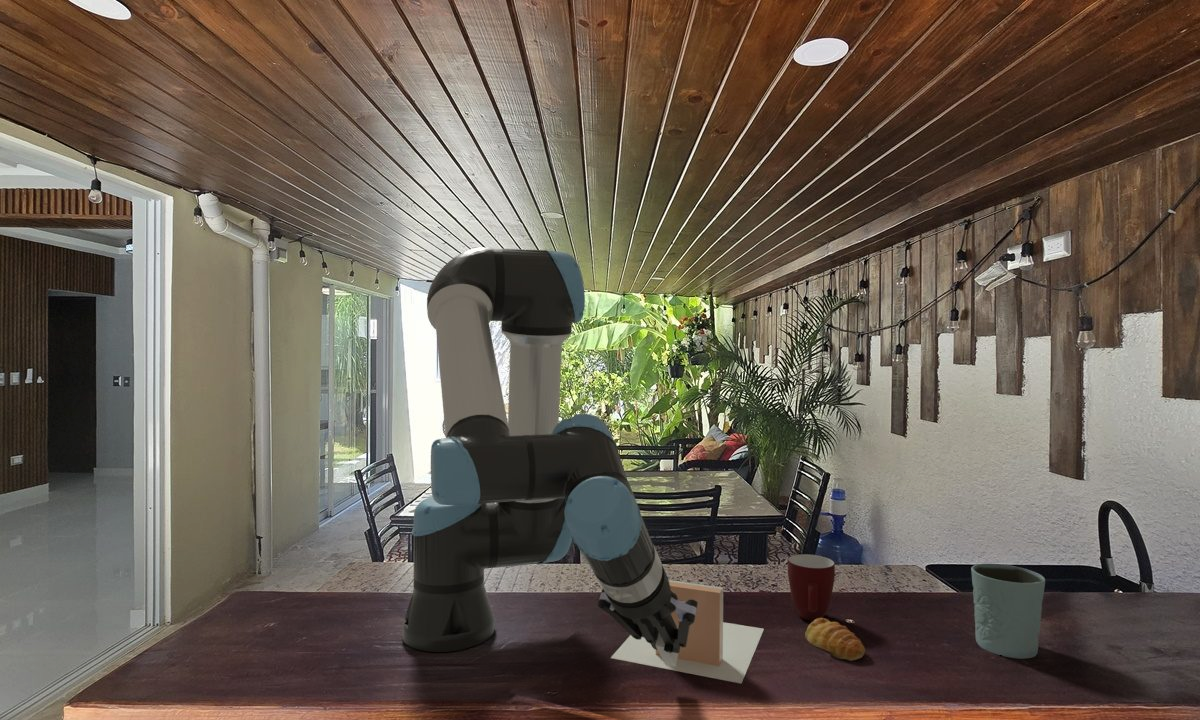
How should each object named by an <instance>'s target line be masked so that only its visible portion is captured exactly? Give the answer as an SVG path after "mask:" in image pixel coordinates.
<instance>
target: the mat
mask: <svg viewBox="0 0 1200 720" xmlns="http://www.w3.org/2000/svg"><path fill="white" fill-rule="evenodd" d="M764 630H765V629H764V628H762V627H761V628H760V627H755V626H747V625H742V624H737V623H732V622H731V623H729V622H724V621H723V660H722V662H721V664H720V666H715V665H710V664H705V663H699V662H694V661H688V660H683V659H678V658H677V663H676V667H674V666H669V665H665V663H664V661H663V659H662V657H661V655H656V649H654V648H653V647H652V645H651V644H650V643H648V642H647V641H646V639H645V638H644V637H641V639H640V640H637V639H635V638H633V637H632V636H631V635H630V634H629V636H628V637H627V638H626V639H625V641H624V642H623V643H622V644H621V645H620V647H618V649H616V651H615V652H614V653H613V654H612V655H611V657H610V659H613V660H618V661H624V662H629V663H634V664H639V665H645V666H650V667H654V668H659V669H665V670H670V671H673V672H674V671H675V672H679V673H680V672H681V673H685V674H692V675H695V676H700V677H706V678H710V679H711V678H712V679H716V680H721V681H727V682H732V683H737V684H740V685H741V684H743V680H744V679H745V676H746V673H747V671H748V670H749V666H750V665H751V662H752V659H753V657H754V654H755V652H756V649H757V647H758V645H759V642H760V640H761V637H762V635H763V633H764Z"/></svg>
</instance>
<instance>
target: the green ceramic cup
mask: <svg viewBox="0 0 1200 720" xmlns="http://www.w3.org/2000/svg"><path fill="white" fill-rule="evenodd" d="M970 571H971V572H970V573H971V580H972V581H971V582H972V587H973V588H972V589H973V590H972V595H973V604H974V606H973V609H974V623H975V627H974V629H975V631H974V632H975V634H974V635H975V641H976V643H977V645H978V646H979V647H980V648H981V649H983V650H984V651H986V652H989V653H991V654H994V655H997V656H1000V655H1002V656H1001V657H1005V658H1010V659H1017V660H1019V659H1020V660H1021V659H1023V660H1024V659H1031V658H1034V657H1036V656H1037V654H1038V652H1039V637H1040V633H1041V632H1040V631H1041V630H1040V629H1041V623H1042V620H1041V619H1042V617H1041V616H1042V611H1043V605H1042V604H1043V599H1044V592H1045V585H1046V579H1045V577H1044V576H1043V575H1042V574H1040V573H1038V572H1036V571H1033V570H1030V569H1027V568H1023V567H1019V566H1015V565H1010V564H1009V565H1008V564H1001V563H978V564H975V565H972V566H971V569H970Z"/></svg>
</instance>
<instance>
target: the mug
mask: <svg viewBox="0 0 1200 720" xmlns="http://www.w3.org/2000/svg"><path fill="white" fill-rule="evenodd" d="M835 568H836V567H835V561H833V560H832V559H830V558H828V557H825V556H823V555H822V556H821V555H816V554H806V553H805V554H793V555H791V556H789V557H788V558H787V579H788V583H789V590H790V595H791V600H792V603H793V605H794V608H795V610H796V611H797V613H798V616H799V617H800V618H802V619H804V620H808V621H812V622H813V621H814V620H815V619H817V618H824V616H825V615H826V613H827V611H828V609H829V607H830V606H831V600H832V594H833V589H834V584H835V578H836V572H835V571H836V569H835Z"/></svg>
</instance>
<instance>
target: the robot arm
mask: <svg viewBox="0 0 1200 720" xmlns="http://www.w3.org/2000/svg"><path fill="white" fill-rule="evenodd" d="M585 299H586V297H585V286H584V281H583V275H582V272H581V269H580V265H579V263H578V262H577V260H576V258H575V257H574V256H573V255H571V254H570V253H568V252H564V251H556V250H550V249H520V248H497V247H477V248H476V247H475V248H471V249H469V250H466V251H464V252H462V253H461V252H460V253H459V254H458V255H456V256H455V257H453V258H452V259H450V260H449V261H448V262H447V263H446V264H445V265H443V267H442V268H440V270H439V271H438V273H437V274H436V275H435V276H434V278H433V280H432V283H431V284H430V286H429V289H428V294H427V298H426V312H427V318H428V321H429V323H430V324H431V327H433V329H434V330H435V332H436V333H435V334H436V345H437V354H438V355H437V356H438V364H439V365H438V366H439V377H440V387H441V398H442V410H443V411H442V412H443V421H444V432H445V438H438V439H437V438H436V439H435V440H433V441H432V443H431V448H430V481H431V482H430V486H431V487H430V489H431V496H430V497H427V498H425V499H423V500H421V501H420V502H419V503H418V504H417V505H416V507H415V509H414V512H413V524H412V525H413V528H412V530H411V534H412V536H413V573H412V575H413V576H412V577H413V585H412V586H413V590H412V594H411V596H410V600H409V603H408V606H407V609H406V611H405V612H406V613H405V617H404V619H403V621H402V641H403V642H404V643H405V645H407V646H408V647H410V648H412V649H415V650H418V651H422V652H430V653H447V652H448V653H449V652H456V651H461V650H466V649H470V648H472V647H476V646H478V645H480V644H482V643H484V642H486V641H487V640H489V639H490V638H491V637H492V636H493V634H494V633H495V614H494V612H493V610H492V606H491V602H490V599H489V597H488V596H489V594H488V593H487V590H486V586H485V578H484V577H485V570H486V569H494V568H495V569H496V568H505V567H506V568H507V567H517V566H518V567H519V566H527V565H538V566H540V565H543V564H546V563H551V562H552V563H553V562H557V561H561V560H562V559H563V558H564V557H565V556H566V555H567V553H568V552H569V550H570V548H571V544H572V541H573V543H574V545H577V548H578V549H579V551H580V552H581V554H582V555H583V557H584V559H585V560H586V562H587V564H588V565H589V567H590V569H591V570H592V572H593V574H594V575H595V578H596V579H597V581H598V582H599V584H600V586H601V589H602V590H601V593H600V596H599V600H598V603H597V607H598V608H599V609H601V610H602V611H604V612H606V613H607V614H609V615H610V616H611V617H612V618H613V619H614V620H615V621H616V622H617V623H618V624H619V625H620V626H621V627H622V628H623V629H624V630H625V631H626V632H627V633H628V634H629V636H630V635H631V636H632V637H633V638H635V639H637V640H640V639H641V637H644V638H645V639H646V641H647V642H648V643H650V644H651V645H652V647H653V648H654V649H656V650H658V651H659V653H660V655H661V657H662V659H663V661H664V663H665V665H669V666H674V667H676V663H677V658H678V653H679V651H680V647H686V644H687V639H688V634H689V628H690V625H691V624H693V623H694V620H695V615H696V610H697V604H698V602H697V601H695V600H688V601H687V602H685V601H682V602H681V601H678V598H677V595H676V594H675V593H673V592H672V591H671V590H670V584H669V580H670V579H669V578H668V574H667V572H666V571H665V568H664V566H663V563H662V561H661V557H660V556H659V554H658V552H657V549H656V547H655V545H654V543H653V541H652V539H651V537H650V534H649V531H648V529H647V527H646V523H645V521H644V518H643V517H642V513H641V510H640V507H639V506H638V505H639V504H638V502H637V500H636V497H635V495H634V491H633V489H632V487H631V484H630V482H629V481H628V477H627V474H626V471H625V469H624V466H623V462H622V459H621V456H620V452H619V451H620V450H619V449H618V445H617V443H616V441H615V439H614V437H613V434H612V433H611V430H609V427H608V425H607V424H606V423H605V421H603V420H602V419H601V418H599V417H598V416H596V415H593V414H589V413H578V414H577V413H576V414H574V415H573V416H571V417H570V418H564V419H562V420H560V421H559V418H560V400H561V399H560V398H561V397H560V396H561V372H562V351H563V343H564V342H565V341H566V340H567V339H568V338H569V337H570V336H571V335H572V332H573V331H572V327H573V324H577V323H579V322H581V321H582V319H583V318H584V311H585V310H586V309H585V306H586V300H585ZM491 322H501V325H500V326H501V327H500V329H501V330H500V331H501V333H502V334H503V335H504V336H505V338H506V339H508V341H509V346H510V347H509V371H508V372H509V373H508V374H509V376H508V377H509V379H508V380H509V381H508V410H506V406H505V402H504V395H503V391H502V386H501V385H502V384H501V380H500V375H499V370H498V365H497V359H496V354H495V348H494V343H493V339H492V338H493V337H492V332H491V329H490V323H491ZM506 411H508V413H507V412H506ZM674 611H676V612H677V615H678V621H680V622H679V628H678V629H677V626H676V624H675V622H674V620H673V618H672V616H671V613H673V612H674Z"/></svg>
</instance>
